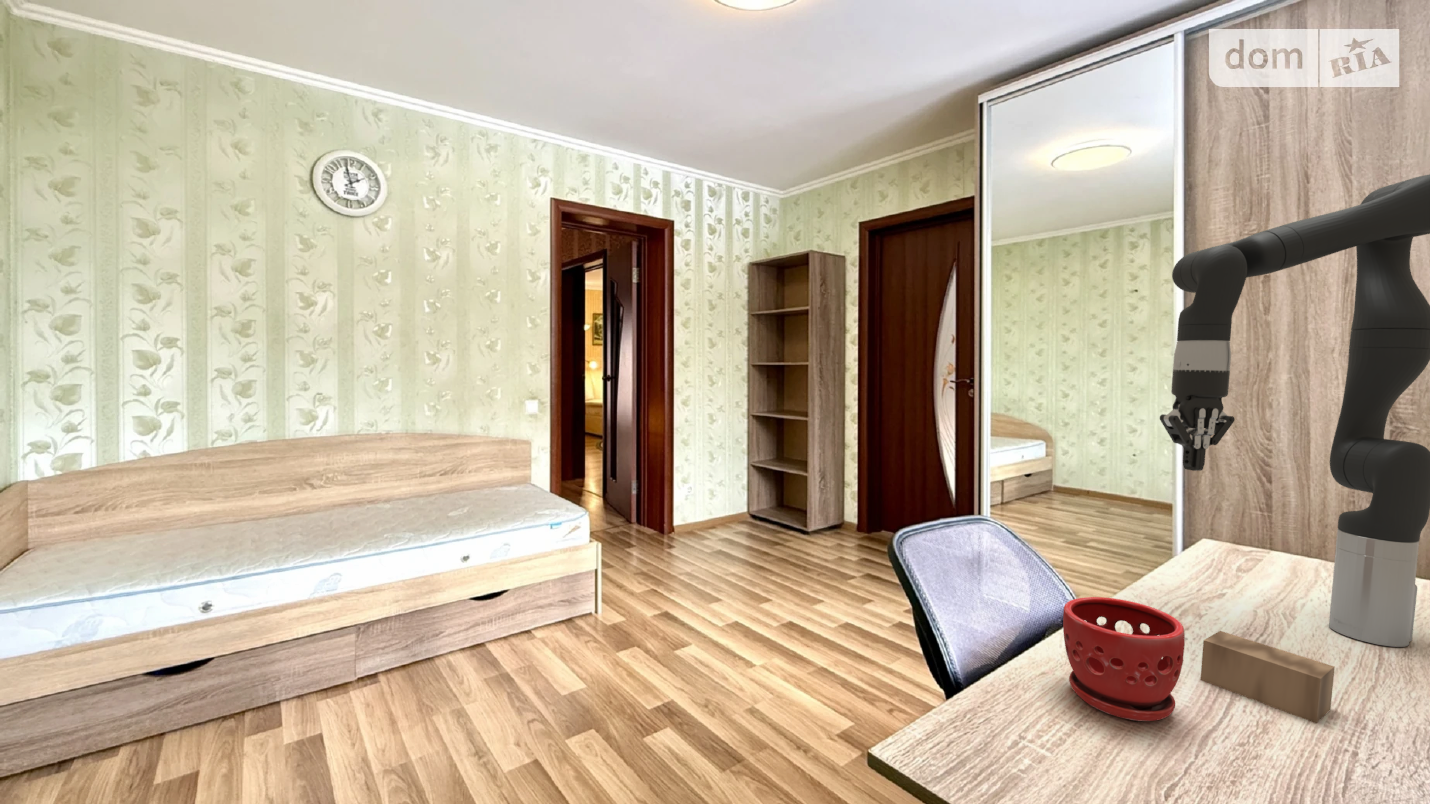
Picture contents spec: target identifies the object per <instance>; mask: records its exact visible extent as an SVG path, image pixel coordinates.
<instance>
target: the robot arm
mask: <svg viewBox="0 0 1430 804" xmlns="http://www.w3.org/2000/svg"><path fill="white" fill-rule="evenodd" d="M1426 235H1430V173H1429V174H1425V175H1424V174H1423V175H1420V176H1416V177H1412V178H1410V179H1406V180H1402V181H1399V182H1396V183H1393V184H1392V183H1391V184H1388V185H1386V186H1383V187H1379V188H1377V189H1375V190H1373V191H1371V192H1370V193H1369V194H1367V196H1365V197H1364V198H1363V199H1362V201H1361V203H1360V204H1357V205H1354V206H1351V207H1347V208H1343V209H1341V210H1336V211H1332V212H1329V213H1328V212H1327V213H1324V214H1320V215H1317V216H1312V217H1309V218H1304V219H1301V220H1296V221H1294V222H1293V221H1292V222H1289V223H1287V224H1285V223H1284V224H1281V225H1279V226H1276V227H1272V228H1270V229H1266V230H1262V231H1259V232H1257V233H1254V234H1251V235H1249V236H1246V237H1244V238H1241V239H1238V240H1236V241H1235V240H1234V241H1232V242H1227V243H1223V244H1220V245H1216V246H1211V247H1209V248H1208V247H1207V248H1204V249H1201V250H1196V251H1194V252H1191V253H1187V254H1186V255H1184V256H1182V257H1181V258H1180V259H1179V260H1178V261H1177V262H1176V264H1175V265H1174V267H1173V270H1172V273H1171V276H1172V281H1173V283H1174V284H1175V286H1176V287H1177V288H1178V289H1179V290H1182V291H1184V292H1187V293H1193V294H1195V295H1194V297H1193V301H1192V303H1191V304H1190V305H1189V306H1187V307H1185V308H1184V309H1182V310H1181V311H1180V312H1179V316H1178V321H1177V322H1178V323H1177V334H1176V335H1177V336H1176V346H1175V348H1174V349H1175V350H1174V354H1173V364H1172V375H1171V376H1172V381H1171V394H1172V395H1173V396H1175V400H1174V402H1173V404H1172V410H1171V411H1169V413H1168V414H1165V413H1164V414H1163V413H1162V414H1161V415H1160V416H1159V420H1160V422H1161V424H1162V426H1163V427H1164V429H1165V431H1166V432H1167V434H1168V435H1169V437H1170V439H1171V441H1172V443H1174V444H1178V445H1180V446H1182V448H1183V454H1182V456H1183V457H1182V466H1183V469H1184V470H1189V471H1193V472H1194V471H1195V472H1196V471H1199V472H1200V471H1203V469H1204V466H1205V461H1206V450H1207V449H1209V447H1210V446H1217V445H1218V444H1219V442H1220V441H1221V440H1222V438H1224V436H1225V435H1226V433H1227V431H1229V429H1230V428H1231V426H1232V425H1233V424H1234V423H1235V417H1234V416H1231V415H1227V414H1226V413H1225V412H1224V409H1225V407H1224V404H1223V400H1222V399H1223V398H1226V397H1228V395H1229V389H1230V387H1229V385H1230V374H1231V361H1232V350H1231V336H1232V335H1231V333H1232V323H1233V321H1232V320H1233V319H1232V318H1233V315H1234V312H1235V309H1236V307H1237V305H1238V303H1239V300H1240V298H1241V295H1242V292H1243V289H1244V286H1245V283H1246V280H1247V278H1252V277H1257V276H1264V275H1269V274H1272V273H1273V274H1274V273H1275V272H1279V271H1283V270H1286V269H1290V268H1293V267H1296V266H1299V265H1302V264H1305V263H1308V262H1312V261H1316V260H1317V259H1320V258H1324V257H1327V256H1330V255H1333V254H1336V253H1338V252H1342V251H1345V250H1348V249H1351V248H1354V247H1356V249H1355V250H1356V251H1355V252H1356V281H1355V282H1356V283H1355V294H1354V306H1353V307H1354V309H1353V317H1352V323H1351V329H1350V330H1351V331H1350V337H1349V345H1348V361H1347V362H1348V363H1347V372H1346V376H1345V377H1346V379H1345V384H1344V391H1343V397H1342V404H1341V409H1340V413H1339V417H1338V421H1337V425H1336V427H1335V428H1336V429H1335V432H1334V436H1333V439H1332V445H1331V450H1330V454H1329V455H1330V456H1329V469H1330V470H1329V471H1330V474H1331V476H1332V478H1333V480H1334V481H1335V482H1336V483H1337V484H1339V485H1340V486H1342V487H1344V488H1347V489H1351V490H1357V491H1361V492H1365V493H1372V495H1371V496H1372V497H1371V500H1370V503H1369V506H1368V507H1366V508H1364V509H1359V510H1350V511H1349V510H1348V511H1344V512H1342V513H1341V514H1339V517H1338V519H1337V530H1336V531H1337V532H1336V541H1335V555H1334V565H1333V575H1332V585H1331V597H1330V598H1331V599H1330V608H1329V615H1328V616H1329V617H1328V627H1329V628H1330V629H1332V630H1333V631H1335V632H1337V633H1338V634H1341V635H1344V636H1346V637H1348V638H1352V639H1354V640H1358V641H1362V642H1365V643H1369V644H1374V645H1377V646H1385V647H1397V648H1404V647H1408V646H1409V645H1410V642H1412V641H1413V633H1414V627H1415V623H1414V622H1415V615H1416V613H1415V612H1416V608H1417V607H1416V606H1417V595H1418V586H1417V584H1416V581H1417V580H1416V579H1417V578H1416V577H1417V569H1418V556H1419V545H1420V540H1421V533H1422V531H1423V529H1424V528H1425V526H1426V524H1427V522H1428V520H1429V517H1430V450H1429V449H1428V448H1427V447H1426V446H1424V445H1422V444H1419V443H1416V442H1412V441H1407V440H1406V441H1404V440H1397V439H1389V438H1387V439H1386V438H1385V430H1386V426H1387V425H1386V424H1387V421H1388V416H1389V413H1390V411H1391V409H1392V407H1393V406H1394V404H1395V403H1396V401H1397V400H1398V399H1399V397H1401V395H1403V393H1404V392H1405V391H1406V390H1407V389H1408V388H1409V387H1411V385H1412V384H1413V383H1414V382H1415V381H1416V380H1417V379H1418V378H1419V376H1420V375H1422V373H1423V372H1424V370H1425V369H1426V367H1427V366H1428V365H1429V363H1430V304H1429V302H1428V300H1427V299H1426V297H1425V295H1424V294H1423V293H1422V291H1421V290H1420V288H1419V287H1418V285H1417V283H1416V282H1415V279H1414V278H1413V275H1412V272H1411V271H1412V270H1411V266H1410V264H1411V263H1410V262H1411V249H1412V243H1413V238H1415V237H1416V238H1417V237H1421V236H1426Z"/></svg>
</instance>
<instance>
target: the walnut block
mask: <svg viewBox="0 0 1430 804" xmlns="http://www.w3.org/2000/svg"><path fill="white" fill-rule="evenodd" d="M1202 644H1203V645H1202V652H1201V653H1202V656H1201V667H1200V678H1199V679H1200V681H1202V682H1205V683H1208V684H1211V685H1213V686H1215V687H1219V688H1221V689H1224V690H1226V691H1229V692H1231V693H1233V694H1237V695H1240V696H1242V697H1245V698H1247V699H1251V700H1253V701H1256V702H1258V703H1260V704H1261V703H1262V704H1264V705H1267V706H1269V707H1271V708H1275V709H1277V710H1280V711H1282V712H1285V713H1287V714H1290V715H1292V716H1296V717H1299V718H1300V719H1304V720H1307V721H1308V722H1311V723H1314V724H1318V722H1319V721H1321V720H1322V718H1324V717H1325V716H1326V714H1327V713H1329V712H1330V711H1331V710H1332V699H1333V698H1332V697H1333V687H1334V686H1333V685H1334V676H1335V668H1336V667H1335V666H1334V665H1331V664H1329V663H1328V664H1327V663H1324V662H1321V661H1318V660H1314V659H1312V658H1308V657H1305V656H1302V655H1299V654H1296V653H1292V652H1289V651H1286V650H1283V649H1281V648H1276V647H1274V646H1270V645H1267V644H1263V643H1260V642H1259V641H1258V642H1257V641H1255V640H1251V639H1248V638H1244V637H1241V636H1238V635H1236V634H1232V633H1228V632H1225V631H1222V630H1219V631H1217V632H1216V633H1214V634H1212V635H1210V636H1208V637H1207V638H1205V639H1203V643H1202Z"/></svg>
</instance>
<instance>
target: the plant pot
mask: <svg viewBox="0 0 1430 804" xmlns="http://www.w3.org/2000/svg"><path fill="white" fill-rule="evenodd" d="M1062 618H1063V620H1062V621H1063V622H1062V624H1063V625H1062V626H1063V628H1062V629H1063V632H1062V633H1063V639H1064V647H1065V651H1066V652H1065V653H1066V656H1067V659H1068V662H1069V665H1070V667H1071V669H1072V671H1071V672H1070V673H1069V675H1068V681H1069V684H1070V686H1071V689H1072V690H1073V691H1074V693H1076V695H1078V697H1079V698H1080V699H1082V700H1083V701H1084V702H1085V703H1086V704H1088V705H1089V706H1091V707H1093V708H1094V709H1095V710H1096V709H1097V710H1099V711H1100V712H1103V713H1106V714H1108V715H1110V716H1111V715H1112V716H1114V717H1117V718H1120V719H1121V718H1122V719H1126V720H1131V721H1132V722H1153V721H1159V720H1162V719H1165V718H1167V717H1169V716H1171V714H1172V713H1173V712H1174V710H1175V708H1176V699H1175V698H1174V696H1173V695H1172V692H1173V690H1174V689H1175V687H1176V685H1177V683H1178V681H1179V679H1180V676H1181V675H1180V674H1181V672H1182V667H1183V663H1184V653H1185V646H1186V645H1185V643H1186V642H1185V641H1186V640H1185V639H1186V638H1185V628H1184V626H1183V624H1182V623H1181V622H1180V620H1178V619H1177V618H1175V617H1174V616H1172V615H1171V614H1168V613H1166V612H1164V611H1162V610H1160V609H1157V608H1155V607H1152V606H1149V605H1146V604H1142V603H1139V602H1135V601H1130V600H1126V599H1120V598H1112V597H1104V596H1103V597H1101V596H1089V597H1088V596H1087V597H1086V596H1085V597H1079V598H1075V599H1070V600H1069V601H1068V602H1066V603H1065V604H1064V606H1063V617H1062ZM1099 618H1103V619H1105V621H1106V622H1105V623H1104V624H1099V623H1098V619H1099ZM1120 621H1122V622H1126V623H1128V624H1129V626H1131V629H1132V633H1126V632H1125V633H1124V632H1120V631H1118V630H1117V629H1116V625H1117V623H1118V622H1120ZM1142 624H1145V625H1146V626H1147V627H1148V628H1149V629H1148V630H1149V632H1144V631H1143V630H1142V628H1141V625H1142Z"/></svg>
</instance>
